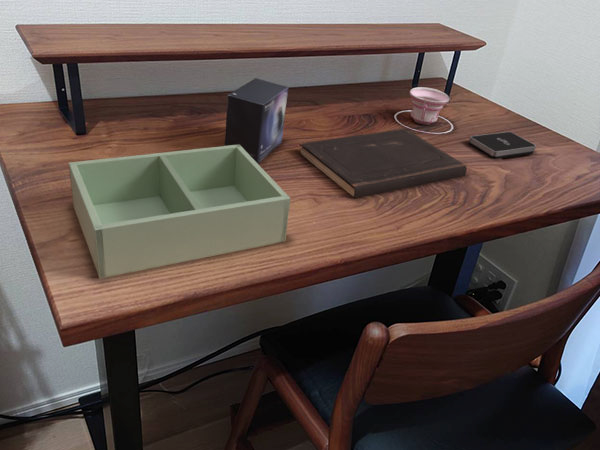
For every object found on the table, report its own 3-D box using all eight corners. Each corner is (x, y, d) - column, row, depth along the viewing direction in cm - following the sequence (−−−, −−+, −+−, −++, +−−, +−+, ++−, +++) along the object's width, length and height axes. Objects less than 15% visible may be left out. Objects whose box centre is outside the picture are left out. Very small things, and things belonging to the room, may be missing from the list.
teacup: (398, 108, 118) (405, 80, 115) (454, 121, 116) (463, 92, 112) (388, 127, 108) (395, 96, 105) (450, 141, 106) (458, 110, 102)
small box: (259, 168, 87) (264, 104, 81) (221, 157, 88) (224, 94, 83) (283, 144, 95) (290, 85, 90) (249, 135, 97) (254, 76, 91)
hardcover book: (298, 155, 92) (299, 143, 91) (403, 140, 103) (405, 128, 102) (353, 202, 81) (356, 188, 80) (464, 178, 92) (468, 166, 91)
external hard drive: (533, 155, 104) (537, 146, 103) (491, 162, 100) (494, 152, 98) (507, 140, 109) (510, 131, 108) (465, 146, 104) (468, 136, 103)
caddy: (99, 282, 59) (94, 229, 56) (73, 210, 71) (68, 162, 67) (284, 244, 70) (290, 198, 66) (236, 186, 81) (239, 144, 77)
